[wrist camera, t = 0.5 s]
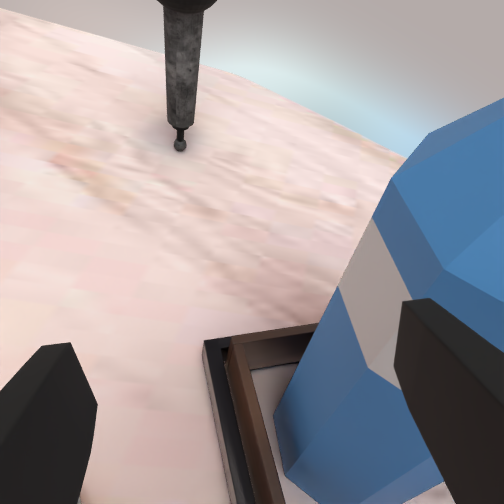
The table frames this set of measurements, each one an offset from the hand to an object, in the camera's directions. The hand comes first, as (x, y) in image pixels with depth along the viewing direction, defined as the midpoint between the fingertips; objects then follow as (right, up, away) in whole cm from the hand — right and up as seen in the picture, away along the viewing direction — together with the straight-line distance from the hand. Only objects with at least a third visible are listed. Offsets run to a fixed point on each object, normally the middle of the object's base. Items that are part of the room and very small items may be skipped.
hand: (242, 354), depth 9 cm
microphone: (-7, +13, +35) cm, 38 cm away
